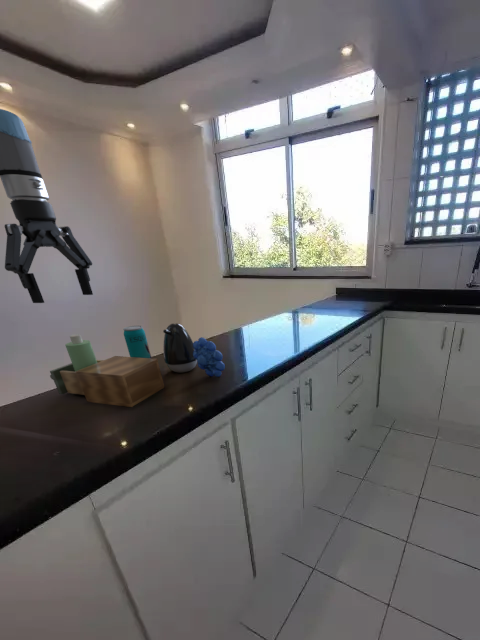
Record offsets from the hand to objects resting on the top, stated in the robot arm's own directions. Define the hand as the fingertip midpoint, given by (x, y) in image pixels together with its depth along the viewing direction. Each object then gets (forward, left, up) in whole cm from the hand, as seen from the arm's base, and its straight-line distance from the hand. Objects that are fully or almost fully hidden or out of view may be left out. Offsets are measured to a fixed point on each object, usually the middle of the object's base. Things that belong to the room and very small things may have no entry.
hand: (65, 298), depth 79 cm
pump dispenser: (+17, +18, -25) cm, 35 cm away
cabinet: (+13, -2, -25) cm, 28 cm away
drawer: (0, -2, -24) cm, 24 cm away
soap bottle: (+1, -2, -23) cm, 23 cm away
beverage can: (+7, +12, -25) cm, 29 cm away
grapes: (+29, +14, -25) cm, 41 cm away
